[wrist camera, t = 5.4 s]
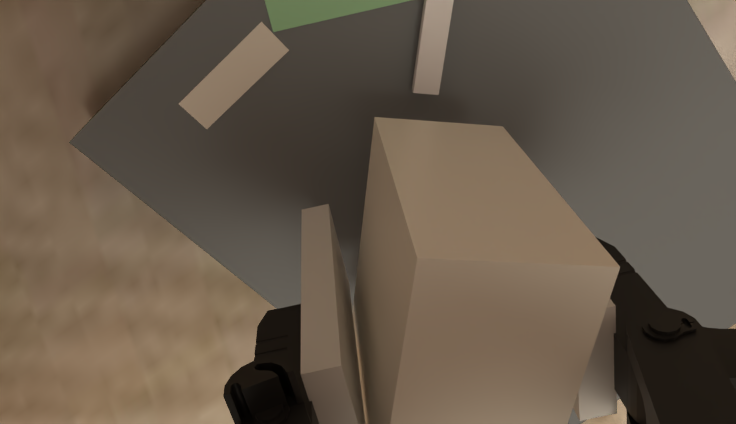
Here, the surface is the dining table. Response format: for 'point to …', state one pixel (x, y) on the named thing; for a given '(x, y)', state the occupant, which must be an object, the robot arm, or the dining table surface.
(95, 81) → the dining table surface
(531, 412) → the peg
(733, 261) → the tuner board
